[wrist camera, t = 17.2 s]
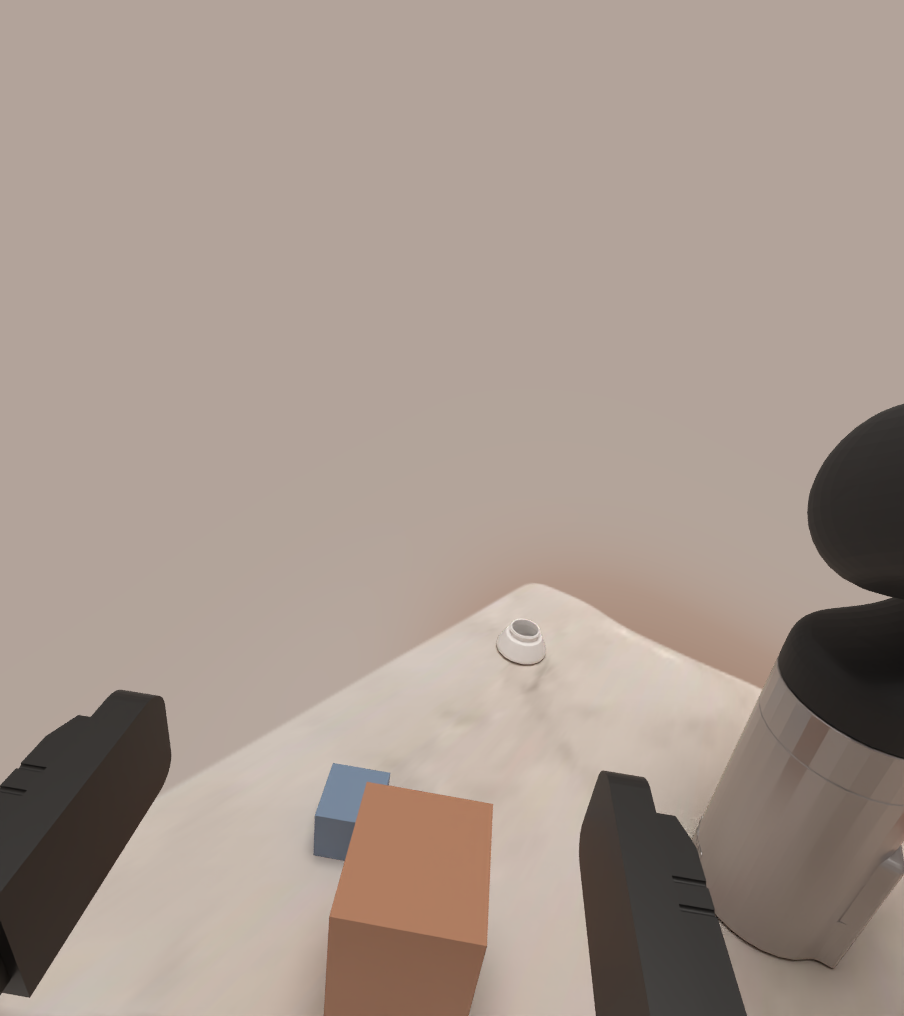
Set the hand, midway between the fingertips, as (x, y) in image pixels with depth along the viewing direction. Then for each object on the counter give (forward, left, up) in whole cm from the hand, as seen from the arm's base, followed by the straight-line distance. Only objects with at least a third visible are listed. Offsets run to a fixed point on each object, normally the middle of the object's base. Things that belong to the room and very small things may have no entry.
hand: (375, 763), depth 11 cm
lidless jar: (+10, -40, -29) cm, 51 cm away
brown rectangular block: (+3, -9, -29) cm, 30 cm away
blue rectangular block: (+11, -15, -29) cm, 34 cm away
